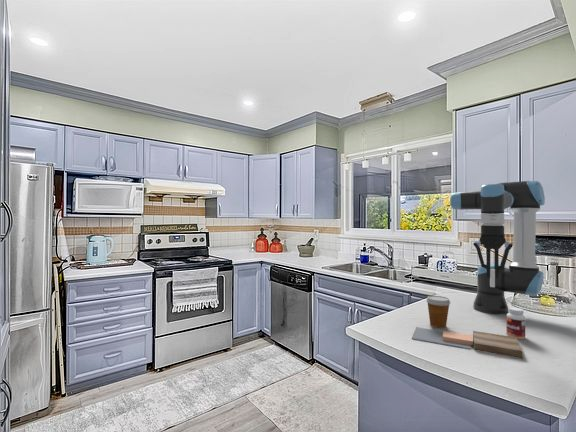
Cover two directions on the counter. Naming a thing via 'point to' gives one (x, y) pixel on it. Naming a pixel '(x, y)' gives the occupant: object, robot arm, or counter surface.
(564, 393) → the counter surface
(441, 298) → the disposable coffee cup
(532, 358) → the counter surface
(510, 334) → the pill bottle
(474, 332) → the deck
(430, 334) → the mat
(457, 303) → the counter surface
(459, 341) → the card
